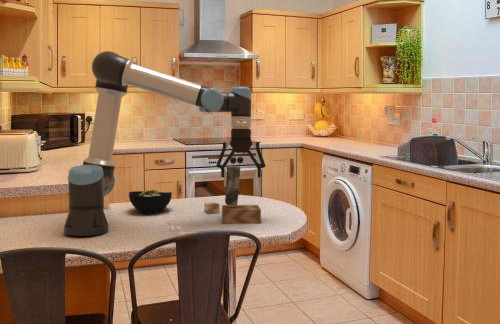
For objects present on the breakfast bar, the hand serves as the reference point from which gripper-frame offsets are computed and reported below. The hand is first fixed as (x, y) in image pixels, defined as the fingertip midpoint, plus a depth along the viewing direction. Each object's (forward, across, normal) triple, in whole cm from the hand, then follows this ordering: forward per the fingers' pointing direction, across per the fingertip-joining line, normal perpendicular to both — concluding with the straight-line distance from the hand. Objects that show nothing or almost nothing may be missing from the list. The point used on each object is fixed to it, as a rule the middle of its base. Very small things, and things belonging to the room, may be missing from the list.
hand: (240, 186), depth 205 cm
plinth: (+13, 0, 0) cm, 13 cm away
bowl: (+13, -36, +18) cm, 42 cm away
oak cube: (+13, -11, +14) cm, 22 cm away
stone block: (+7, -6, 0) cm, 9 cm away
